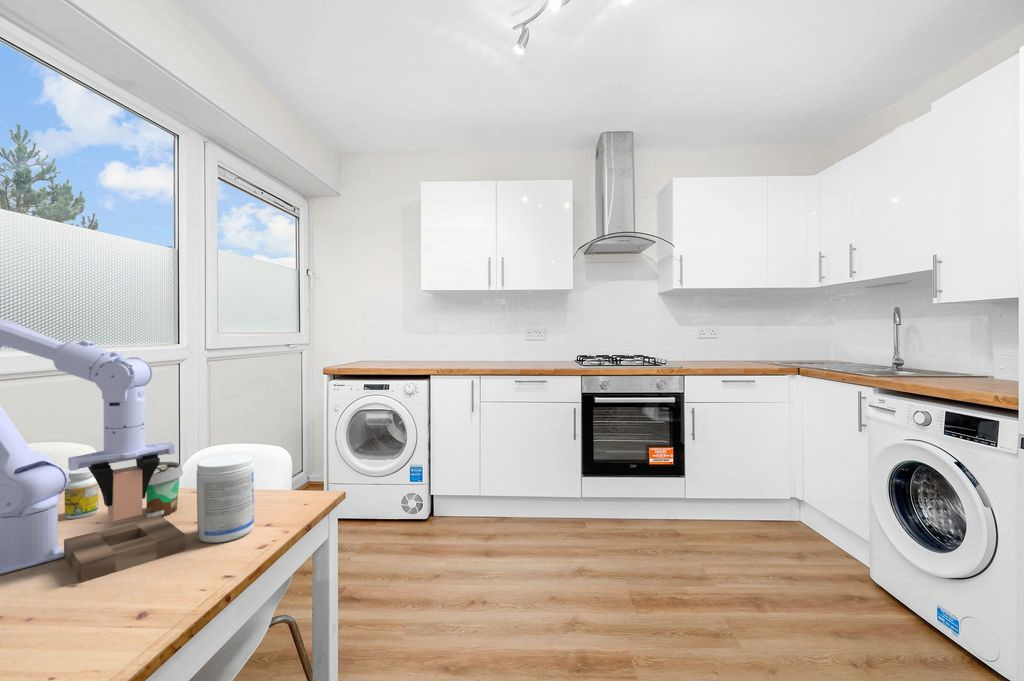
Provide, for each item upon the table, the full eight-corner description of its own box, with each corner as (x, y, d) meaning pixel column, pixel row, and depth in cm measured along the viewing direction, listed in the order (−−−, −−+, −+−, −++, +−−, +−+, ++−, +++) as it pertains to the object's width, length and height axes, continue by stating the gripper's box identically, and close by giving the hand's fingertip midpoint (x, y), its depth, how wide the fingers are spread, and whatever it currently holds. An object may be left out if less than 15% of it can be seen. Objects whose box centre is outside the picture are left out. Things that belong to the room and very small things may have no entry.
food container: (182, 517, 99) (182, 471, 99) (146, 523, 95) (145, 476, 95) (184, 500, 109) (184, 458, 109) (151, 505, 106) (151, 462, 105)
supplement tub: (264, 528, 93) (264, 456, 93) (219, 548, 84) (219, 469, 84) (231, 521, 97) (231, 451, 97) (185, 539, 88) (185, 463, 88)
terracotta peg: (107, 515, 82) (107, 470, 82) (136, 508, 85) (135, 465, 85) (113, 521, 80) (113, 475, 79) (142, 514, 83) (142, 469, 83)
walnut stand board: (63, 556, 81) (63, 539, 81) (160, 530, 92) (160, 515, 92) (80, 582, 73) (80, 563, 73) (184, 550, 84) (184, 533, 84)
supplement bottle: (104, 510, 102) (104, 468, 102) (78, 520, 97) (78, 475, 97) (84, 509, 103) (84, 466, 103) (57, 518, 98) (57, 473, 98)
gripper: (74, 435, 74) (74, 519, 74) (180, 422, 85) (180, 495, 86) (65, 429, 78) (65, 509, 78) (168, 418, 90) (168, 487, 90)
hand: (125, 501), depth 82 cm, fingers closed on terracotta peg, 4 cm apart
